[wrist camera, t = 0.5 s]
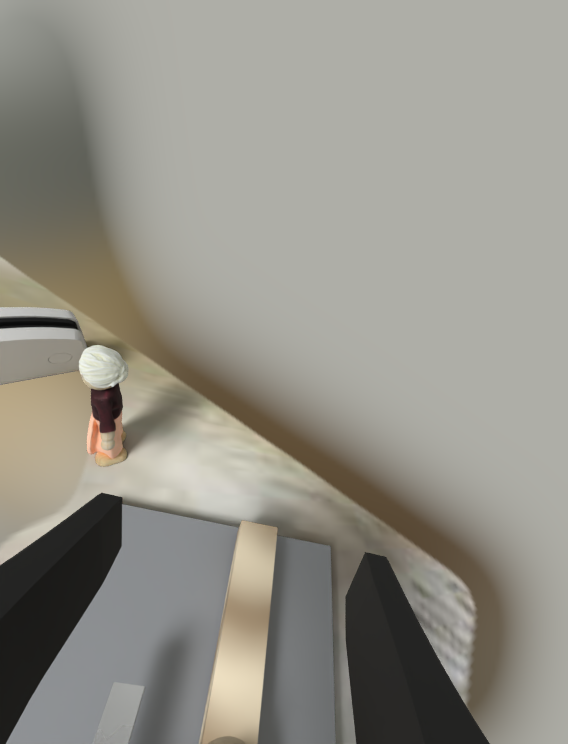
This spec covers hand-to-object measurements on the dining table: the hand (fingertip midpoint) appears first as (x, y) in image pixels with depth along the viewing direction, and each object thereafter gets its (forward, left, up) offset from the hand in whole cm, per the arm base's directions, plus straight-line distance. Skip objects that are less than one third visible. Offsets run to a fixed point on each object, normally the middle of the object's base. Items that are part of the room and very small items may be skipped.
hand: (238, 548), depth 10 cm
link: (+1, -3, -19) cm, 19 cm away
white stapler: (+21, +26, -21) cm, 39 cm away
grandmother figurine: (+15, +12, -21) cm, 28 cm away
